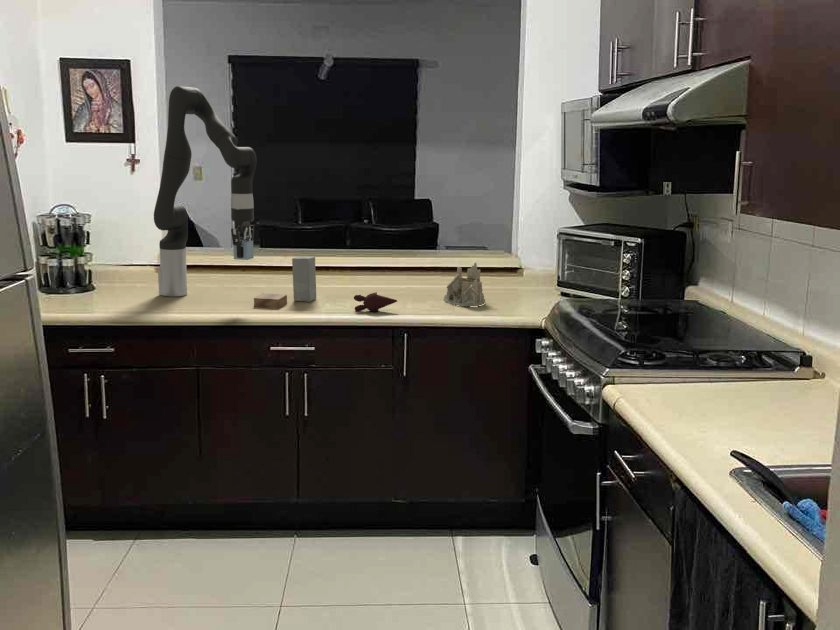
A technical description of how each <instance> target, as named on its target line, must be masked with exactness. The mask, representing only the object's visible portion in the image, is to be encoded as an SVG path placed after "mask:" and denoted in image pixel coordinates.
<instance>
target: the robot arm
mask: <svg viewBox="0 0 840 630" xmlns="http://www.w3.org/2000/svg"><path fill="white" fill-rule="evenodd" d="M167 113H168V115H167V131H166V132H167V133H166V141H165V147H164V148H165V149H164V153H163V161H162V171H161V176H160V183H159V189H158V193H157V197H156V202H155V207H154V211H153V222H154V225H155V226H156V228H157V229H158V230H160V231H167V233H166V235H165V236H164V237H163V238H162V239H160V240H159V245H158V246H159V266H160V268H158V270H157V279H158V295H159V296H162V297H170V298H171V297H183V296H184V297H185V296H186V295H188V277H187V275H188V274H187V250H186V249H187V248H186V247H187V245H186V244H187V242H188V237H189V216H188V212H187V209H186V208H185V206H183V204H180V203H175V201H176V196H177V193H178V192H179V189H180V188H181V186H182V185H183V183H184V182H185V180H186V178H187V176H188V174H189V173H190V169H191V162H192V149H191V145H190V143H189V140H188V138H187V134H186V132H185V124H186V123H185V122H186V115H195V116H196V117H198V119H200V120H201V121H202V122H203V123H204V128H205V132H206V135H207V136H208V138H209V140H210V141H211V142H212V143H213V144H214V145H215V146H216V148H218V150H219V152H220V154H221V156H222V158H223V160H224V162H225V163H226V164H227V166H229V167H230V168H232V169H239V172H238V174H236V175H234V176H232V177H231V180H230V182H231V183H230V184H231V185H230V187H231V192H230V193H231V197H230V211H231V212H230V213H231V215H230V216H231V217H230V218H231V221H233V222H235V225H234V226H235V227H234V228H231V229H230V233H231V240H232V246H233V245H235V246H236V247H237V258H243V257H244V255H243V242H244V240H247V241H253V242H254V238H255V237H254V235H255V224H251V223H250V222H253V221H254V220H255V214H254V213H255V210H254V208H255V205H254V203H255V202H254V196H253V179H254V177H255V176H254V175H255V172H256V167H257V160H258V159H257V154H256V152H255V150H254V149H253V148H252V147H250V146H238V138H237V137H236V135H235V134H234V133H233V132H232V131H231V130H230V129H229V127H227V126H226V124H224V123H223V121H222V119H220V117H219V116H218V114H217V113H216V111H215V110H214V108H213V107H212V105H211V103H210V102H209V100H208V98H207V97H206V96H205V94H204V93H203V92H202V91H201V90H200V89H199V88H197V87H193V86H192V87H191V86H181V85H179V86H175V87H173V88H172V89H171V90H170V94H169V99H168V111H167ZM235 241H236V242H235Z"/></svg>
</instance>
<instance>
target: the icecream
mask: <svg viewBox="0 0 840 630" xmlns="http://www.w3.org/2000/svg"><path fill="white" fill-rule="evenodd" d="M353 300H354V301H357V302H359V303H360V302H362V304H359V305H356V306H355V307H354V311H356V312H361V311H364V310H368V311H370V312H375V311H376V312H375V313H379V310H380V309H382V308H385V307H387V306H390V305H392V304H395V303H398V300H397V299H394V298H390V297H388V296H383V295H380V294H378V293H377V291H376V292H372V293H369V294H367V295H366V296H364V295H362V294H355V295H354V296H353Z"/></svg>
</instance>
